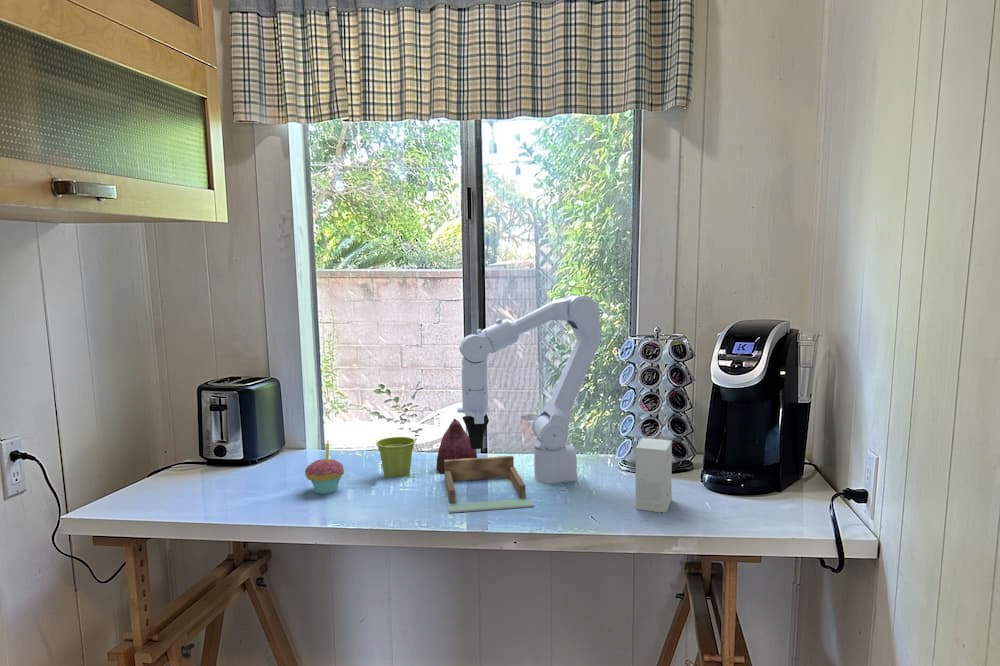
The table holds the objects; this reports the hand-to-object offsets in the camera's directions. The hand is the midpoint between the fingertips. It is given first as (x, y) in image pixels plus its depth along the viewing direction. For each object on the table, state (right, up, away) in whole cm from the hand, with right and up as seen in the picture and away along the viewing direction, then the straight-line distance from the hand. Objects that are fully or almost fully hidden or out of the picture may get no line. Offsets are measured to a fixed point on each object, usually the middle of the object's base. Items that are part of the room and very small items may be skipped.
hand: (476, 448), depth 140 cm
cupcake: (-34, -10, +2) cm, 36 cm away
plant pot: (-20, -9, +11) cm, 24 cm away
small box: (+37, -10, -11) cm, 40 cm away
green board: (+3, -9, -11) cm, 14 cm away
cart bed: (+2, -10, -3) cm, 10 cm away
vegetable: (-5, -8, +16) cm, 19 cm away
